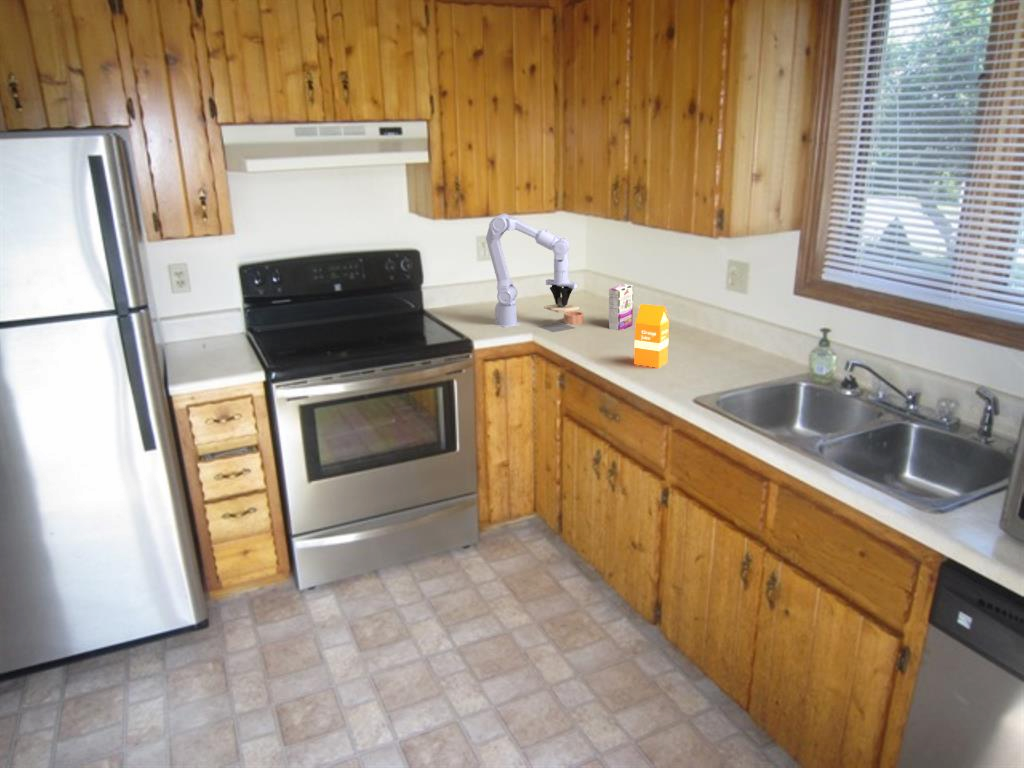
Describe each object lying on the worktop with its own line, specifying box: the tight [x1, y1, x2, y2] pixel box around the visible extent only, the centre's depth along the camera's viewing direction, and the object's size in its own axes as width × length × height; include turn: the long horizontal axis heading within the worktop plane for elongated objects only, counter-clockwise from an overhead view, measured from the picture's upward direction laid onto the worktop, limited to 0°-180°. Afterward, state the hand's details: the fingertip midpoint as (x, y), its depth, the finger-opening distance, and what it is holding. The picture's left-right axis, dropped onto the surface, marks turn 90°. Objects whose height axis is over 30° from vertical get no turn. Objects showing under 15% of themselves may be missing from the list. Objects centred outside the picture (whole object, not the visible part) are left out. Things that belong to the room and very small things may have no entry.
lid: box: [543, 296, 580, 314], centre depth 294 cm, size 10×10×4 cm
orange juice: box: [633, 303, 670, 369], centre depth 245 cm, size 8×9×20 cm
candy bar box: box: [608, 283, 634, 331], centre depth 291 cm, size 11×5×16 cm, turn 143°
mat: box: [538, 322, 576, 333], centre depth 295 cm, size 11×11×1 cm
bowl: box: [563, 310, 585, 325], centre depth 302 cm, size 8×8×4 cm
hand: (561, 304), depth 294 cm, fingers closed on lid, 3 cm apart
